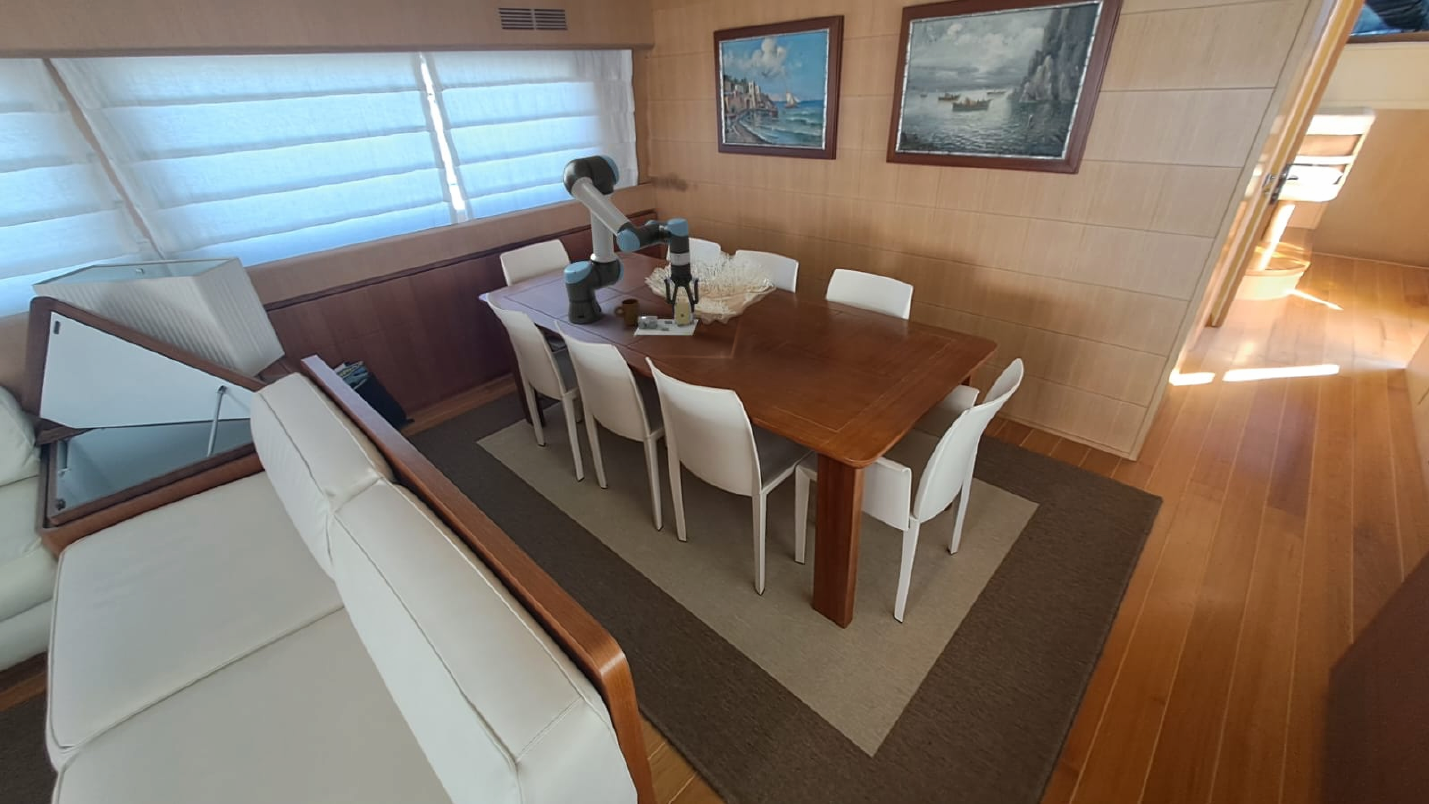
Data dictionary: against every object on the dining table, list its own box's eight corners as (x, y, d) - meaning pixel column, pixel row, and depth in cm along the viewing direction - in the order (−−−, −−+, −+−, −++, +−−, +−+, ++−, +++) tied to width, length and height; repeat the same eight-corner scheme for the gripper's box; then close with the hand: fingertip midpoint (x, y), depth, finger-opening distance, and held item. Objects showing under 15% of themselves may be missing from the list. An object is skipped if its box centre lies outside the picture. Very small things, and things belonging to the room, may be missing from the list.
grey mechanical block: (638, 328, 223) (636, 318, 221) (641, 324, 227) (639, 314, 225) (656, 329, 222) (654, 318, 220) (658, 324, 226) (657, 314, 224)
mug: (621, 330, 226) (618, 309, 221) (611, 325, 231) (608, 304, 226) (645, 322, 232) (642, 301, 228) (635, 317, 237) (632, 297, 233)
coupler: (676, 323, 214) (675, 306, 210) (678, 318, 218) (677, 302, 215) (689, 323, 213) (688, 307, 210) (691, 318, 218) (690, 302, 214)
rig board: (634, 337, 219) (633, 332, 218) (643, 321, 233) (642, 316, 232) (692, 337, 216) (692, 332, 215) (698, 322, 230) (698, 317, 228)
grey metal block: (677, 326, 223) (676, 316, 221) (674, 323, 227) (673, 312, 224) (694, 323, 225) (694, 313, 223) (690, 319, 229) (690, 309, 227)
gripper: (654, 265, 201) (659, 323, 214) (702, 265, 199) (705, 324, 211) (658, 259, 208) (663, 315, 220) (705, 259, 205) (707, 316, 218)
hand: (683, 319), depth 216 cm, fingers closed on coupler, 5 cm apart
